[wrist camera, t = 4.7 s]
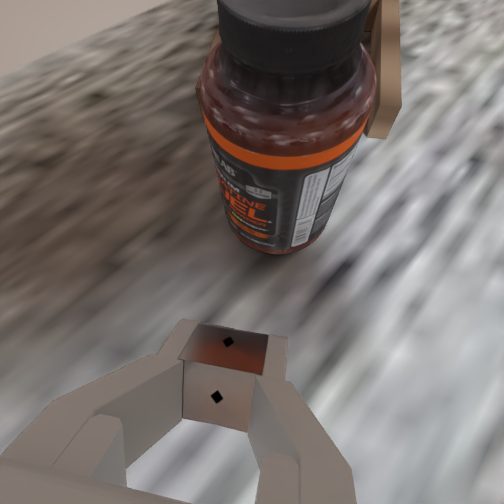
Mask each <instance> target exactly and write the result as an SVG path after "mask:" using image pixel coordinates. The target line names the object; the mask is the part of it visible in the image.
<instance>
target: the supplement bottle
mask: <svg viewBox="0 0 504 504" xmlns="http://www.w3.org/2000/svg"><path fill="white" fill-rule="evenodd" d="M371 1H372V0H217V4H218V15H219V27H218V28H219V35H220V37H221V40H220V41H219V42H218V43H217V44H216V45H215V47H214V48H213V49H212V50H211V52H210V53H209V55H208V57H207V59H206V61H205V64H204V67H203V70H202V73H201V81H200V93H201V103H202V108H203V113H204V117H205V123H206V127H207V133H208V136H209V140H210V145H211V149H212V154H213V158H214V162H215V167H216V171H217V175H218V179H219V184H220V189H221V194H222V199H223V203H224V207H225V213H226V215H227V218H228V221H229V223H230V226H231V228H232V229H233V231H234V233H235V234H236V235H237V236H238V238H239V239H240V240H241V241H242V242H244V243H245V244H246V245H248V246H249V247H251V248H253V249H256V250H258V251H261V252H264V253H271V254H274V255H279V254H288V253H291V252H295V251H298V250H301V249H303V248H305V247H307V246H309V245H310V244H311V243H313V242H314V241H315V240H316V239H317V238H318V237H319V235H320V234H321V233H322V231H323V230H324V228H325V226H326V223H327V221H328V219H329V217H330V214H331V212H332V209H333V206H334V204H335V201H336V199H337V196H338V194H339V191H340V189H341V186H342V183H343V181H344V178H345V176H346V173H347V171H348V168H349V166H350V163H351V160H352V158H353V155H354V153H355V150H356V148H357V145H358V143H359V140H360V138H361V135H362V133H363V130H364V127H365V124H366V122H367V119H368V117H369V114H370V112H371V108H372V105H373V101H374V98H375V92H376V84H377V79H376V73H375V67H374V65H373V62H372V60H371V57H370V55H369V53H368V52H367V50H366V49H365V48H364V46H363V45H362V43H361V41H362V38H363V34H364V26H365V22H366V18H367V14H368V11H369V7H370V4H371Z"/></svg>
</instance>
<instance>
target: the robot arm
mask: <svg viewBox="0 0 504 504" xmlns="http://www.w3.org/2000/svg"><path fill="white" fill-rule="evenodd" d="M268 336H269V338H268ZM287 346H288V338H287V337H283V336H276V335H266V334H260V333H255V332H249V331H243V330H237V329H234V328H229V327H224V326H219V325H214V324H209V323H204V322H199V321H194V320H188V319H182V320H180V321H179V322H178V324H177V325H176V327H175V328H174V330H173V331H172V333H171V334H170V336H169V337H168V339H167V340H166V342H165V343H164V344H163V346H162V347H161V349H160V350H159V352H158V353H157V355H153V354H150V355H148V356H146V357H144V358H142V359H140V360H138V361H136V362H133V363H131V364H129V365H127V366H125V367H123V368H121V369H119V370H117V371H114V372H112V373H110V374H108V375H106V376H104V377H102V378H100V379H98V380H96V381H93V382H91V383H89V384H87V385H85V386H83V387H81V388H79V389H77V390H74V391H72V392H70V393H68V394H66V395H64V396H62V397H60V398H58V399H56V400H53V401H52V402H51V403H50V404H49V405H48V406H47V407H46V408H45V409H44V410H43V411H42V412H41V413H40V415H39V416H38V417H37V418H36V419H35V420H34V421H33V422H32V423H31V424H30V425H29V426H28V427H27V428H26V429H25V430H24V431H23V432H22V433H21V434H20V435H19V436H18V437H17V439H16V440H15V441H14V442H13V443H12V444H11V445H10V446H9V447H8V448H7V449H6V450H5V451H4V452H3V453H2V454H1V455H0V504H191V503H187V502H183V501H179V500H175V499H171V498H167V497H163V496H159V495H155V494H151V493H147V492H143V491H139V490H135V489H131V488H127V483H126V468H128V467H129V466H130V465H131V464H132V463H133V462H134V461H136V460H137V459H138V458H139V457H140V456H141V455H143V454H144V453H145V452H146V451H147V450H148V449H149V448H151V447H152V446H153V445H154V444H155V443H156V442H157V441H159V440H160V439H161V438H162V437H163V436H164V435H166V434H167V433H168V432H169V431H170V430H171V429H172V428H174V427H175V426H176V425H177V424H178V423H179V422H181V421H182V418H183V419H188V420H193V421H199V422H204V423H209V424H215V425H219V426H223V427H227V428H231V429H235V430H239V431H243V432H247V433H248V434H247V435H248V438H249V440H250V443H251V446H252V449H253V452H254V455H255V457H256V460H257V463H258V466H259V469H260V476H259V482H258V487H257V493H256V499H255V504H357V502H356V496H355V489H354V483H353V476H352V469H351V467H350V466H349V464H348V463H347V461H346V460H345V458H344V457H343V456H342V454H341V453H340V451H339V450H338V448H337V447H336V446H335V444H334V443H333V441H332V440H331V438H330V437H329V436H328V434H327V433H326V431H325V430H324V428H323V427H322V426H321V424H320V423H319V421H318V420H317V418H316V417H315V415H314V414H313V413H312V411H311V410H310V408H309V407H308V405H307V404H306V403H305V401H304V400H303V398H302V397H301V395H300V394H299V393H298V391H297V390H296V388H295V387H294V385H293V384H292V383H291V382H290V381H285V376H286V361H287Z"/></svg>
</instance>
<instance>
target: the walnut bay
mask: <svg viewBox="0 0 504 504" xmlns="http://www.w3.org/2000/svg"><path fill="white" fill-rule="evenodd" d="M218 27H219V26H218ZM364 31H371V49H370V57H371V60H372V62H373V65H374V67H375V73H376V79H377V84H376V92H375V98H374V101H373V105H372V108H371V112H370V114H369V117H368V127H367V137H371V138H381V139H386V138H387V136H388V134H389V132H390V130H391V127H392V125H393V123H394V121H395V119H396V117H397V115H398V113H399V111H400V109H401V107H402V101H401V57H400V14H399V0H372V1H371V4H370V7H369V11H368V14H367V18H366V22H365V26H364ZM220 40H221V37H220V35H219V28H218V29H217V32H216V34H215V37H214V40H213V42H212V45H211V48H210V50H209V53H210V52H211V50H212V49H213V48H214V47H215V45H216V44H217V43H218V42H219V41H220ZM209 53H208V55H209ZM207 57H208V56H207ZM206 59H207V58H206ZM203 67H204V66H203ZM202 70H203V69H202ZM201 73H202V72H201ZM200 81H201V74H200V77H199V80H198V83H197V85H196V93H197V97H198V101H199V105H200V109H201V114H202V118H203V120H204V121H205V117H204V113H203V108H202V103H201V93H200Z"/></svg>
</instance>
